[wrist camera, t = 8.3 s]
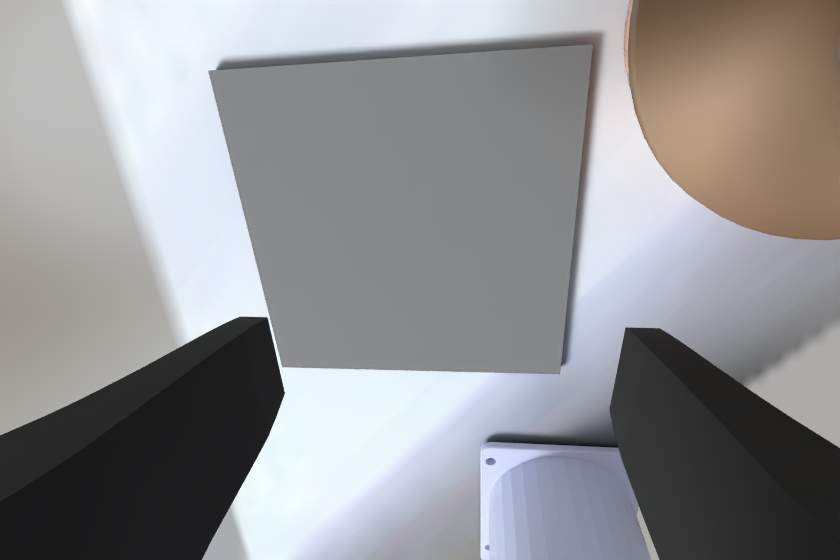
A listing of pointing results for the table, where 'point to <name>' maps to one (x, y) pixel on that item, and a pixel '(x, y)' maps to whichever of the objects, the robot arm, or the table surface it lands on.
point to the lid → (744, 107)
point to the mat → (413, 205)
